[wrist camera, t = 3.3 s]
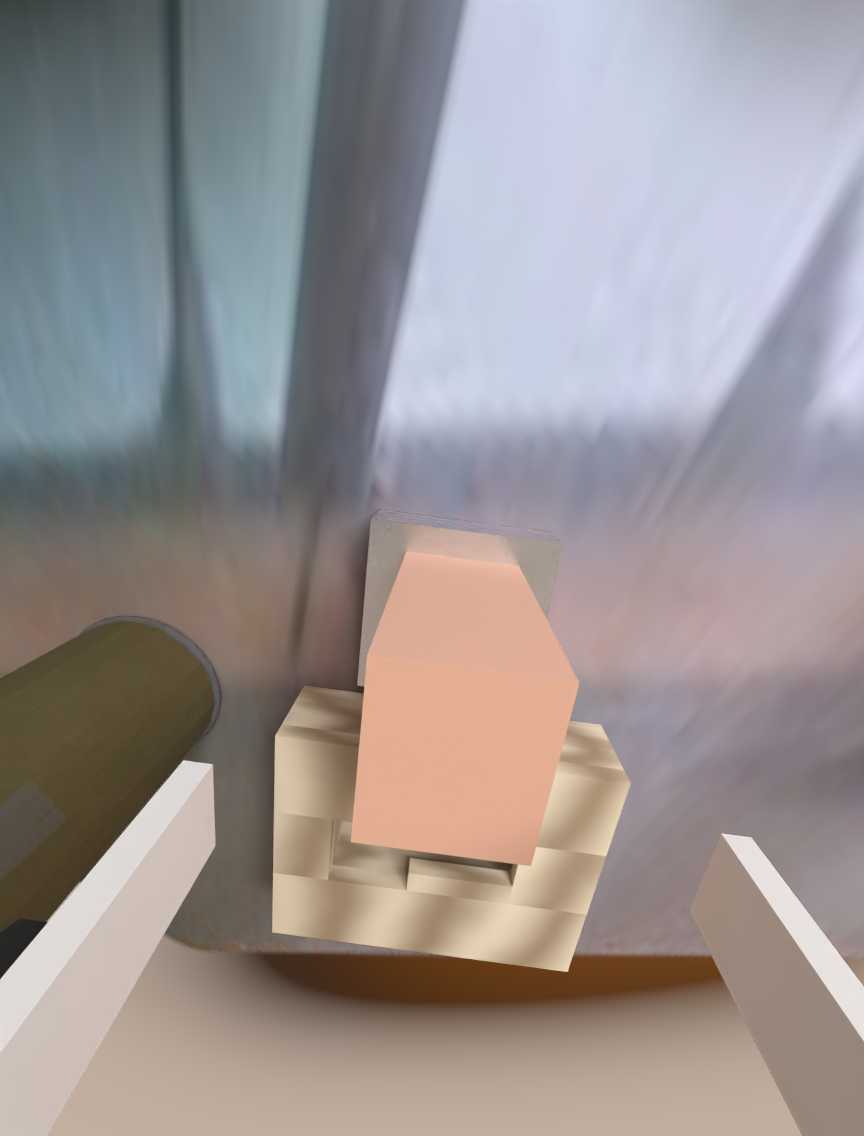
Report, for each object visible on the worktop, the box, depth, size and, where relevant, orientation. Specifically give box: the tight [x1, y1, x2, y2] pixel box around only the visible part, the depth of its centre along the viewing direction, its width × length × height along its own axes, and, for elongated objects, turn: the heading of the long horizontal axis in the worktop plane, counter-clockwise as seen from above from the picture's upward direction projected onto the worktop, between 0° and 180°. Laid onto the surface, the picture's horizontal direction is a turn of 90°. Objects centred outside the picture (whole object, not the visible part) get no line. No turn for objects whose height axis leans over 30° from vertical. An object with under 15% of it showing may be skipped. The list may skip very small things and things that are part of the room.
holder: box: [357, 509, 563, 686], centre depth 25 cm, size 10×10×3 cm
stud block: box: [351, 552, 579, 866], centre depth 20 cm, size 6×7×14 cm
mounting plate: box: [272, 685, 631, 972], centre depth 29 cm, size 20×16×5 cm
